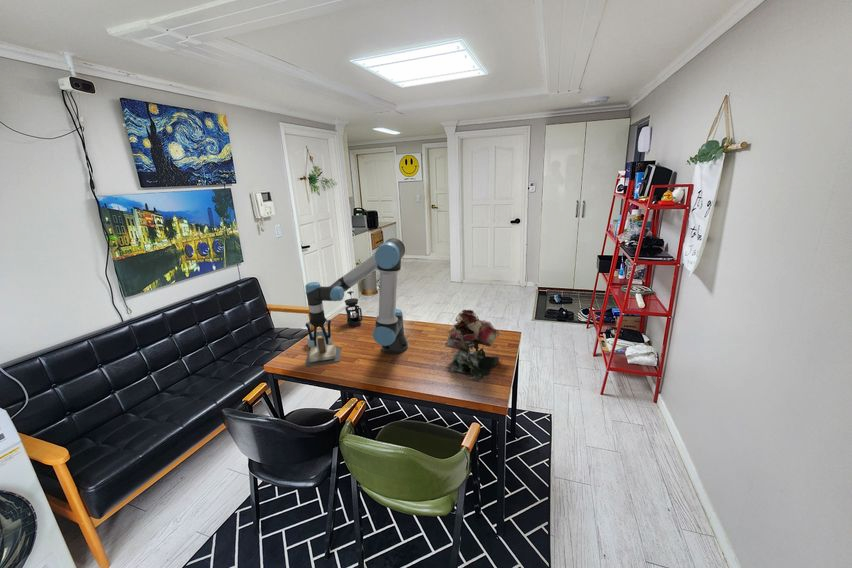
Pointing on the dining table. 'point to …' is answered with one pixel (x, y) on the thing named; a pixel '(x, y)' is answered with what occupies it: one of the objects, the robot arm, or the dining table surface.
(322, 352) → the lid
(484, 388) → the dining table surface
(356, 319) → the french press
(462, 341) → the rose bouquet
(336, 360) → the mat
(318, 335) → the bowl
